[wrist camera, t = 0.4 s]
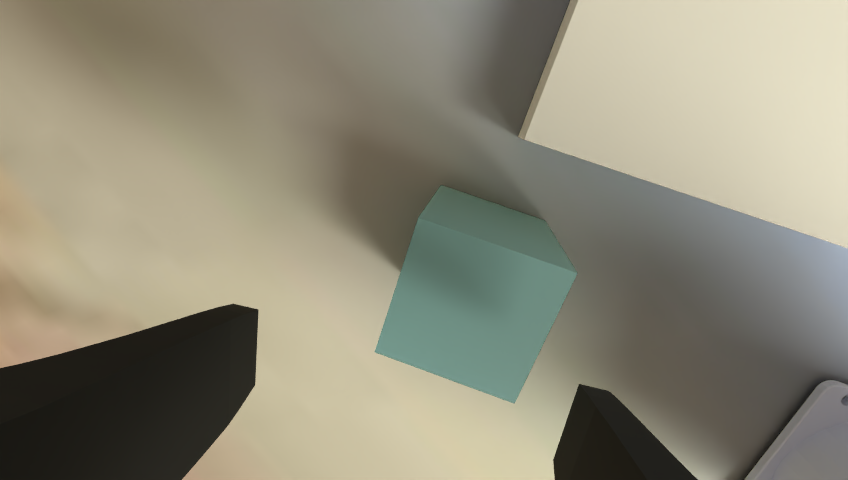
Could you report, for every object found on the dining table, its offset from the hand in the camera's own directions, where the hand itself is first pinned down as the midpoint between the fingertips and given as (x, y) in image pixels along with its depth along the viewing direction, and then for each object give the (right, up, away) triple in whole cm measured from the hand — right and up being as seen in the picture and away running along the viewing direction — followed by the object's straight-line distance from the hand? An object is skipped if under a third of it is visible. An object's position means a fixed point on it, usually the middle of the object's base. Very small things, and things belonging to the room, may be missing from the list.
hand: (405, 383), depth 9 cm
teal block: (+3, +3, +8) cm, 9 cm away
